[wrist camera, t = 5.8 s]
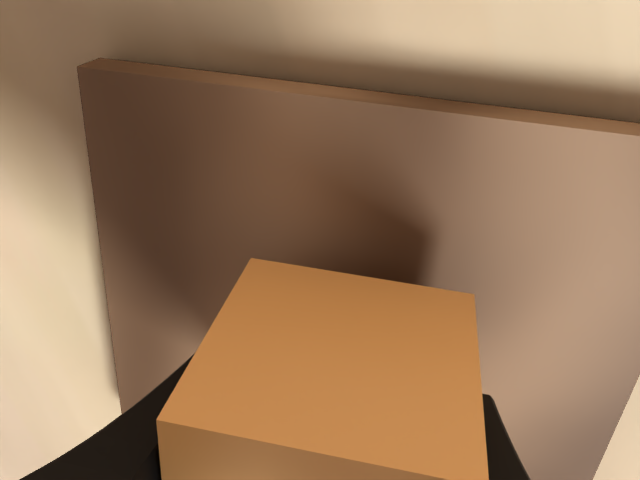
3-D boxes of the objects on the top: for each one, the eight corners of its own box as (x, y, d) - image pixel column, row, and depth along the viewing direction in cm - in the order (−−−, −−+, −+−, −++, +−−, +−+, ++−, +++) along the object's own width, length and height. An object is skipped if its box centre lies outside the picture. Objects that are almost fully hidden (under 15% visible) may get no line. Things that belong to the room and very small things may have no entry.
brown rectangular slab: (139, 417, 20) (59, 544, 16) (99, 57, 14) (-42, 111, 10) (562, 503, 18) (597, 671, 14) (719, 133, 12) (857, 236, 8)
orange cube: (248, 417, 16) (172, 605, 11) (250, 258, 13) (156, 419, 9) (435, 454, 15) (430, 668, 11) (474, 294, 13) (489, 487, 8)
